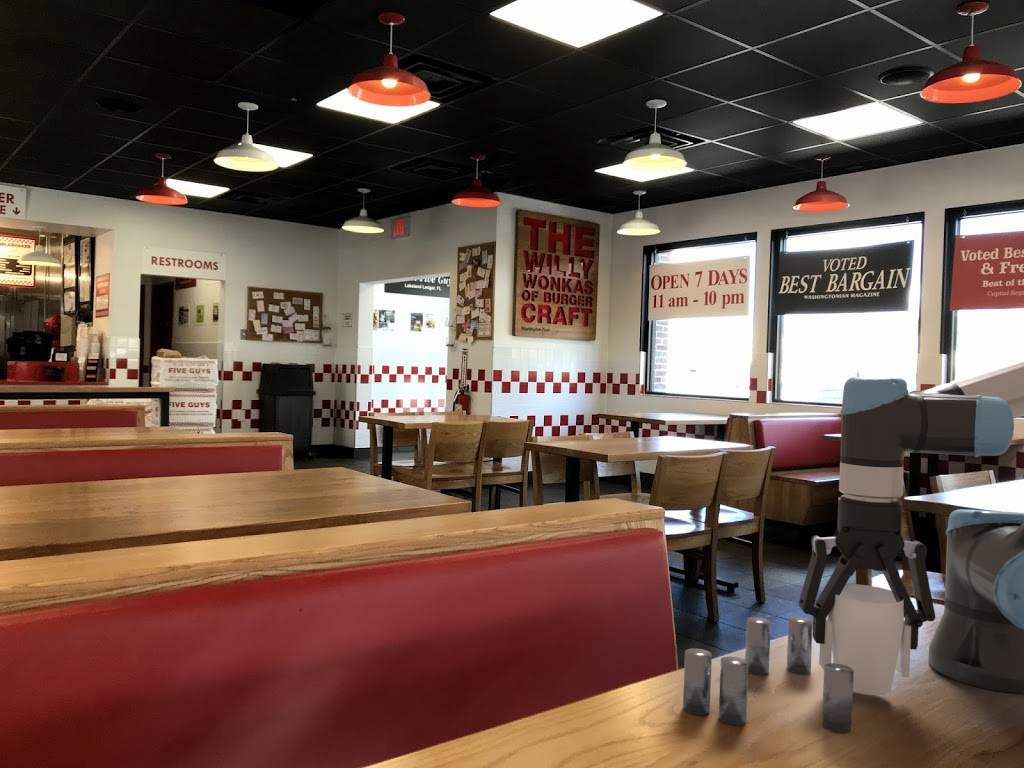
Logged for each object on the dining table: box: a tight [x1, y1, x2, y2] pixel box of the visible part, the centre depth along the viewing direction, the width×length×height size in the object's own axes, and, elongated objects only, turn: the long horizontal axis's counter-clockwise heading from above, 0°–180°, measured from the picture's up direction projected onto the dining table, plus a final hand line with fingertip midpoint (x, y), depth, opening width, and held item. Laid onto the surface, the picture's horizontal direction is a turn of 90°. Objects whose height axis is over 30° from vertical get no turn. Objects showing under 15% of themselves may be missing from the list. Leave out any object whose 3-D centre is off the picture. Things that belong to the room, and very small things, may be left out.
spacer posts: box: [682, 616, 854, 734], centre depth 104 cm, size 19×21×7 cm
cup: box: [828, 583, 905, 696], centre depth 103 cm, size 9×9×12 cm
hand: (863, 670), depth 103 cm, fingers closed on cup, 9 cm apart
